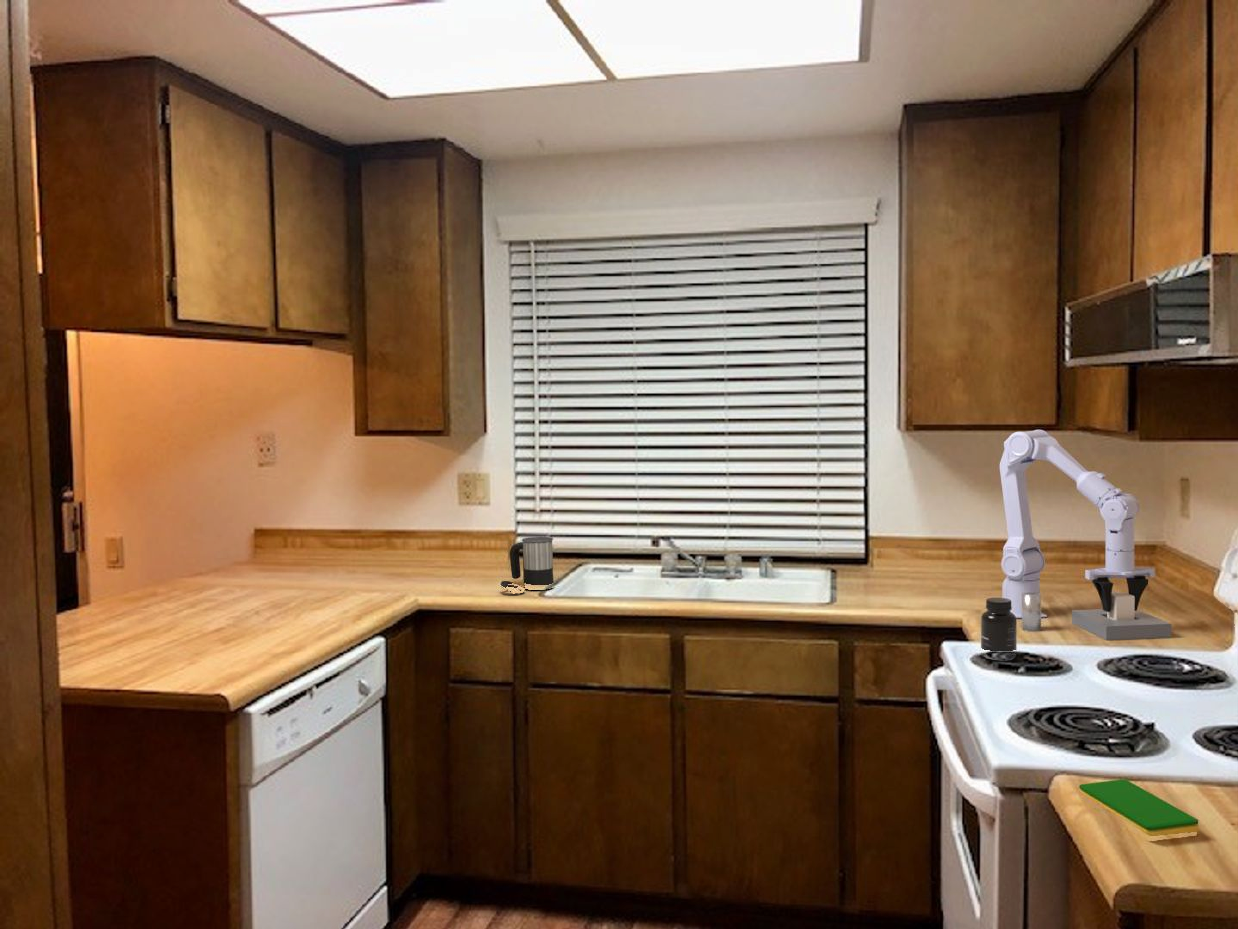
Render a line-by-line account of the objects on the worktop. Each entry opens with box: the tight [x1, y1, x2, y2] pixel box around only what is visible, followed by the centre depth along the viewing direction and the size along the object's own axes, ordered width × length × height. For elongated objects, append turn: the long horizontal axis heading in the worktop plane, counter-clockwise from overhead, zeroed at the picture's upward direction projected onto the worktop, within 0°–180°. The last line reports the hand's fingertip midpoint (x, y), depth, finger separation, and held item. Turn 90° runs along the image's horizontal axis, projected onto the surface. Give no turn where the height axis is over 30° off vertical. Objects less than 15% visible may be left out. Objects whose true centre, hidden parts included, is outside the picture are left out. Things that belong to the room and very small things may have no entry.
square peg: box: [1107, 592, 1135, 620], centre depth 225 cm, size 4×4×8 cm
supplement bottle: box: [980, 597, 1018, 651], centre depth 207 cm, size 7×7×12 cm
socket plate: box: [1071, 608, 1172, 641], centre depth 225 cm, size 16×14×3 cm
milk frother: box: [500, 536, 555, 588], centre depth 295 cm, size 14×16×15 cm
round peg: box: [1021, 592, 1042, 632], centre depth 229 cm, size 4×4×8 cm
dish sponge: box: [1078, 778, 1199, 836], centre depth 131 cm, size 7×14×2 cm, turn 10°
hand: (1119, 610), depth 225 cm, fingers open, 5 cm apart
